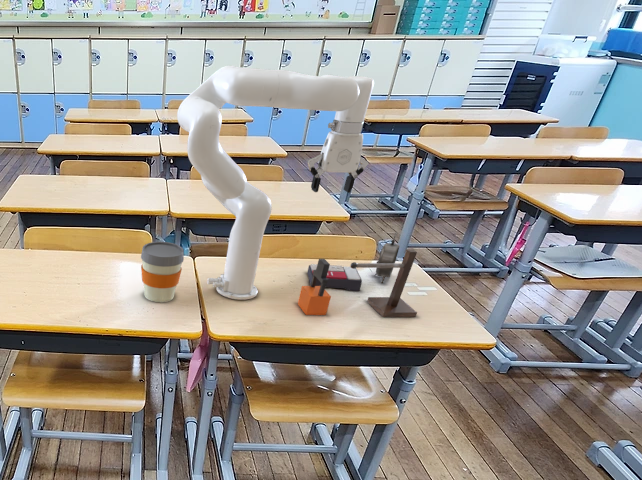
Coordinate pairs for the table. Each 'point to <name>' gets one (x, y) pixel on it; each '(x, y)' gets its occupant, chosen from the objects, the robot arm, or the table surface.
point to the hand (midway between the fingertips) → (330, 191)
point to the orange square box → (316, 292)
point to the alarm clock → (387, 258)
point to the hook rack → (394, 303)
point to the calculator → (339, 277)
